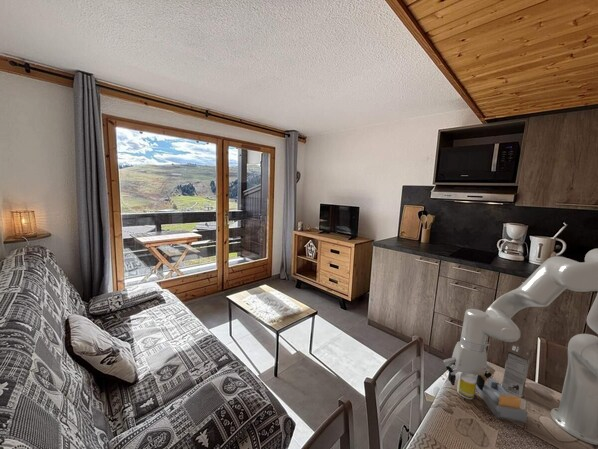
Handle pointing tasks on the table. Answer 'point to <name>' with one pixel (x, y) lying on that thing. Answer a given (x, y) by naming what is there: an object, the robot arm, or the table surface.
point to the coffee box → (516, 369)
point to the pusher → (507, 400)
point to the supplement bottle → (466, 385)
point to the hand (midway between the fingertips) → (465, 384)
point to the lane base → (492, 403)
